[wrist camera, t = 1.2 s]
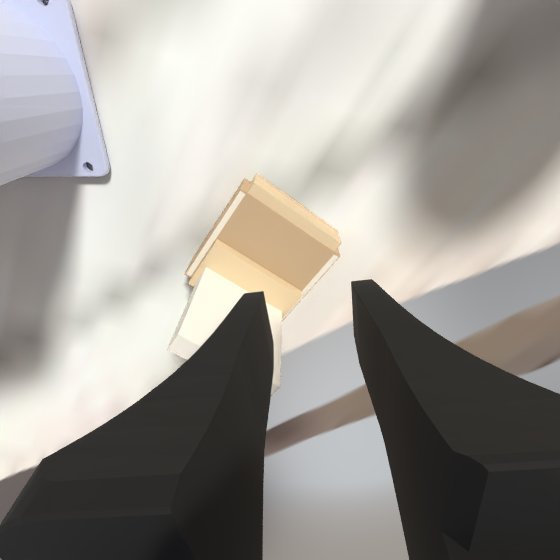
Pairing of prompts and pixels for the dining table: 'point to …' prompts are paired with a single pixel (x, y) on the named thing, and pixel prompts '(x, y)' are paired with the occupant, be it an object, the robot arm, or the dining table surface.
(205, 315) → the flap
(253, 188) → the carton
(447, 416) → the robot arm
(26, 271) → the dining table surface
